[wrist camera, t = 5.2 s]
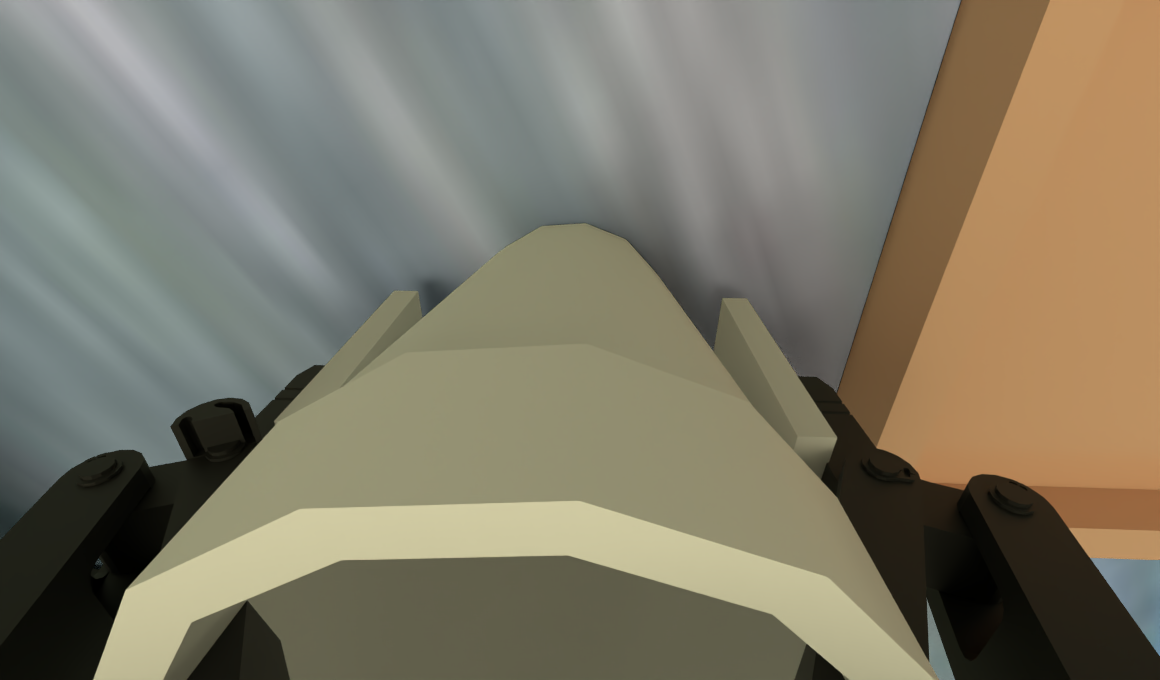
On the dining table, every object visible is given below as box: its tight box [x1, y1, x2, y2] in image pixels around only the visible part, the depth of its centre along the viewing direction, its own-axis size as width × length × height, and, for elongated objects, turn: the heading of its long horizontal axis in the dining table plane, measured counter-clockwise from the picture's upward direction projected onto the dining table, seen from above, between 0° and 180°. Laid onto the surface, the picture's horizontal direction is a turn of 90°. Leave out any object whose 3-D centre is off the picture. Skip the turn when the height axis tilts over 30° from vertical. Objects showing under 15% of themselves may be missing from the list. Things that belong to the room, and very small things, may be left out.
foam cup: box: [93, 223, 939, 680], centre depth 12 cm, size 10×9×13 cm
